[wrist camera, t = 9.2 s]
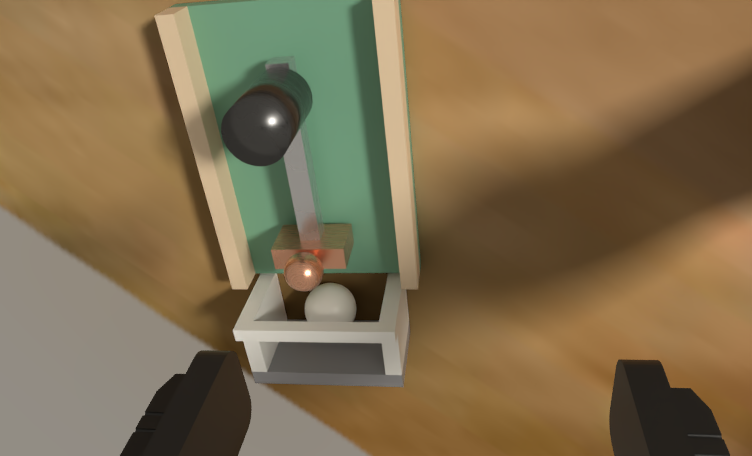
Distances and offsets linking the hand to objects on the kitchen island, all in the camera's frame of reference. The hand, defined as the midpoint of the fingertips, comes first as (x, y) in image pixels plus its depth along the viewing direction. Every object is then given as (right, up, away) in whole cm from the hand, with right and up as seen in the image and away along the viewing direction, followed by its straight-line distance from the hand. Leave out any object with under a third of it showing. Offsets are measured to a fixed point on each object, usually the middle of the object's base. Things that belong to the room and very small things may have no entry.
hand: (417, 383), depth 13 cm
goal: (-4, -2, +36) cm, 36 cm away
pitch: (-5, +9, +29) cm, 31 cm away
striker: (-6, +8, +28) cm, 29 cm away
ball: (-4, -3, +34) cm, 34 cm away
